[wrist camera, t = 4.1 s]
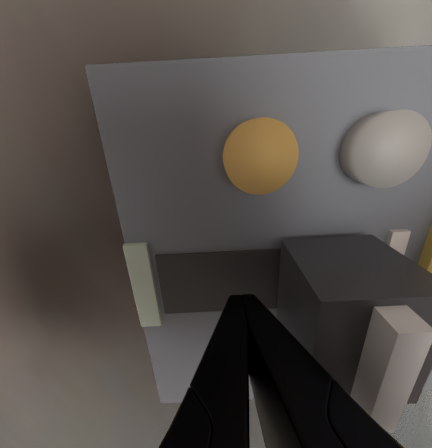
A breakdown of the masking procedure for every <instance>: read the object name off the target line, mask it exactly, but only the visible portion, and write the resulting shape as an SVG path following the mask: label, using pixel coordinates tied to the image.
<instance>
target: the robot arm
mask: <svg viewBox="0 0 432 448" xmlns="http://www.w3.org/2000/svg"><path fill="white" fill-rule="evenodd" d="M249 378H250V382H251V386H252V390H253V395H254V399H255V403H256V408H257V412H258V416H259V421H260V425H261V429H262V433H263V438H264V442H265V446H266V448H404V447H403V446H402V445H400V444H399V443H398V442H397V441H396V440H395V439H394V438H393V437H392V436H391V435H390V434H389V433H388V432H387V431H385V430H384V429H383V428H382V427H381V426H380V425H379V424H378V423H377V422H376V421H375V420H374V419H373V418H372V417H371V416H370V415H369V414H368V413H367V412H366V411H365V410H364V409H363V408H362V407H361V406H360V405H359V404H358V403H357V402H356V401H355V400H354V399H353V398H352V397H351V396H350V395H349V394H348V393H347V392H346V391H345V390H344V389H343V388H342V387H341V386H340V385H339V384H338V382H337V381H336V380H332V379H333V378H332V376H331V375H330V374H329V373H328V372H327V371H326V370H325V369H324V368H323V367H322V366H321V365H320V364H319V363H318V361H317V360H316V359H315V358H314V357H313V356H312V355H311V354H310V353H309V352H308V351H307V350H306V349H305V348H304V347H303V346H302V345H301V343H300V342H299V341H298V340H297V339H296V338H295V337H294V336H293V335H292V334H291V333H290V332H289V331H288V330H287V329H286V328H285V327H284V326H283V324H282V323H281V322H280V321H279V320H278V319H277V318H276V317H275V316H274V315H273V314H272V313H271V312H270V311H269V310H268V309H267V308H266V306H265V305H264V304H263V303H262V302H261V301H260V300H259V299H258V298H257V297H256V296H255V295H254V294H243V295H230V296H229V298H228V300H227V302H226V304H225V307H224V309H223V311H222V313H221V316H220V318H219V320H218V322H217V325H216V327H215V329H214V331H213V334H212V336H211V338H210V340H209V343H208V345H207V347H206V349H205V352H204V354H203V356H202V358H201V360H200V363H199V365H198V367H197V369H196V372H195V374H194V376H193V378H192V381H191V383H190V387H189V388H188V389H187V392H186V394H185V396H184V398H183V401H182V403H181V405H180V407H179V409H178V411H177V413H176V415H175V417H174V419H173V422H172V424H171V426H170V428H169V430H168V431H167V433H166V435H165V437H164V439H163V441H162V442H161V444H160V446H159V448H250V445H249Z"/></svg>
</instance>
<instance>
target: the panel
mask: <svg viewBox="0 0 432 448" xmlns="http://www.w3.org/2000/svg"><path fill="white" fill-rule="evenodd" d="M84 66H85V71H86V75H87V79H88V84H89V88H90V93H91V97H92V102H93V106H94V110H95V115H96V119H97V124H98V128H99V133H100V137H101V142H102V146H103V150H104V155H105V159H106V164H107V168H108V173H109V177H110V181H111V186H112V190H113V195H114V199H115V204H116V208H117V212H118V217H119V221H120V226H121V230H122V235H123V239H124V245H123V246H122V247H123V251H124V255H125V260H126V264H127V268H128V273H129V277H130V281H131V286H132V290H133V294H134V299H135V303H136V307H137V312H138V316H139V320H140V325H141V327H143V328H144V332H145V337H146V341H147V345H148V350H149V354H150V359H151V363H152V368H153V372H154V377H155V381H156V385H157V390H158V394H159V399H160V403H161V404H166V403H182V401H183V398H184V396H185V394H186V392H187V389H188V388H189V387H190V383H191V381H192V378H193V376H194V374H195V372H196V369H197V367H198V365H199V363H200V360H201V358H202V356H203V354H204V352H205V349H206V347H207V345H208V343H209V340H210V338H211V336H212V334H213V331H214V329H215V327H216V325H217V322H218V320H219V318H220V316H221V313H222V311H223V309H224V307H225V304H226V302H227V300H228V298H229V296H230V295H243V294H254V295H255V296H256V297H257V298H258V299H259V300H260V301H261V302H262V303H263V304H264V305H265V306H266V308H267V309H268V310H269V311H270V312H271V313H272V314H273V315H274V316H275V317H276V318H277V302H278V286H279V270H280V254H281V239H298V238H318V237H337V236H357V235H373V236H375V237H376V238H378V239H380V240H381V241H383V242H384V243H386V244H387V245H389V246H390V247H392V248H393V249H395V250H396V251H398V252H399V253H401V254H403V255H404V256H406V257H407V258H409V259H410V260H412V261H413V262H415V263H416V264H418V265H419V266H421V267H423V268H424V269H426V270H427V271H429V272H430V273H432V45H425V46H407V47H390V48H372V49H355V50H337V51H319V52H302V53H284V54H267V55H249V56H232V57H214V58H197V59H179V60H162V61H144V62H127V63H109V64H91V65H84ZM422 391H432V369H431V371H430V374H429V376H428V378H427V380H426V383H425V385H424V387H423V390H422ZM251 399H254V395H253V390H252V386H251V382H250V378H249V400H251Z"/></svg>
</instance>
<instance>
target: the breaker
mask: <svg viewBox="0 0 432 448" xmlns="http://www.w3.org/2000/svg"><path fill="white" fill-rule="evenodd" d="M277 319H278V320H279V321H280V322H281V323H282V324H283V326H284V327H285V328H286V329H287V330H288V331H289V332H290V333H291V334H292V335H293V336H294V337H295V338H296V339H297V340H298V341H299V342H300V343H301V345H302V346H303V347H304V348H305V349H306V350H307V351H308V352H309V353H310V354H311V355H312V356H313V357H314V358H315V359H316V360H317V361H318V363H319V364H320V365H321V366H322V367H323V368H324V369H325V370H326V371H327V372H328V373H329V374H330V375H331V376H332V378H333V379H332V380H336V381H337V382H338V384H339V385H340V386H341V387H342V388H343V389H344V390H345V391H346V392H347V393H348V394H349V395H350V396H351V397H352V398H353V399H354V400H355V401H356V402H357V403H358V404H359V405H360V406H361V407H362V408H363V409H364V410H365V411H366V412H367V413H368V414H369V415H370V416H371V417H372V418H373V419H374V420H375V421H376V422H377V423H378V424H379V425H380V426H381V427H382V428H383V429H384V430H385V431H387V432H388V433H394V432H395V430H396V428H397V425H398V423H399V420H400V418H401V416H402V413H403V411H404V409H405V406H406V404H407V403H417V401H418V399H419V396H420V394H421V392H422V390H423V387H424V385H425V383H426V380H427V378H428V376H429V374H430V371H431V369H432V273H430V272H429V271H427V270H426V269H424V268H423V267H421V266H419V265H418V264H416V263H415V262H413V261H412V260H410V259H409V258H407V257H406V256H404V255H403V254H401V253H399V252H398V251H396V250H395V249H393V248H392V247H390V246H389V245H387V244H386V243H384V242H383V241H381V240H380V239H378V238H376V237H375V236H373V235H357V236H337V237H318V238H298V239H281V254H280V270H279V286H278V302H277Z"/></svg>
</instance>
